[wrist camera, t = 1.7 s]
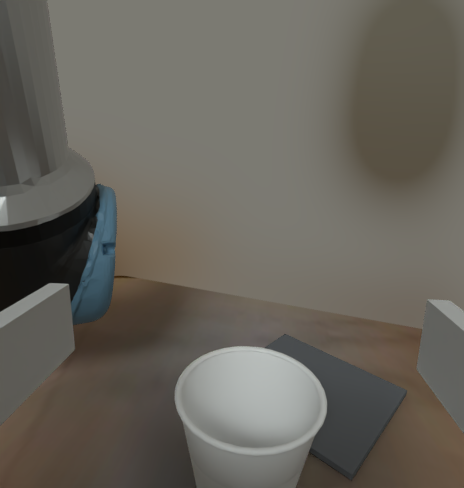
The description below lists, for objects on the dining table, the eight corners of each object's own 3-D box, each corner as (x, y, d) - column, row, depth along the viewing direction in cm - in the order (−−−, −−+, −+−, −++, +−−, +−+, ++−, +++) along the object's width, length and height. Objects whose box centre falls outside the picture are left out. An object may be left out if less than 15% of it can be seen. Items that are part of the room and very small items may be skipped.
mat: (213, 387, 40) (213, 382, 40) (284, 337, 50) (285, 333, 50) (351, 480, 30) (352, 475, 30) (405, 395, 40) (407, 390, 40)
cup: (148, 508, 27) (143, 386, 24) (239, 434, 34) (245, 331, 30) (247, 634, 20) (259, 490, 17) (335, 510, 27) (355, 390, 24)
